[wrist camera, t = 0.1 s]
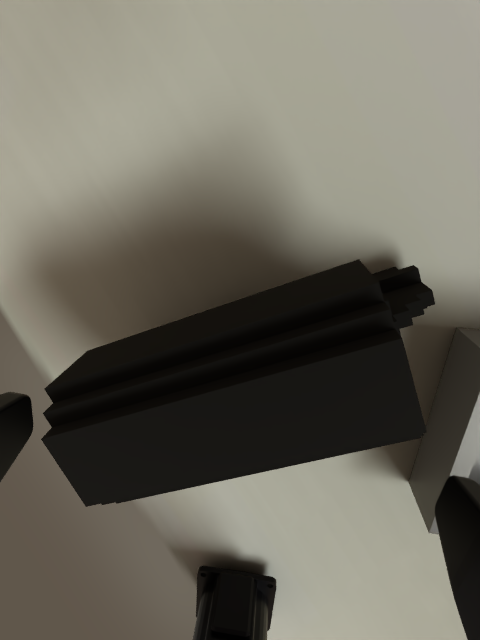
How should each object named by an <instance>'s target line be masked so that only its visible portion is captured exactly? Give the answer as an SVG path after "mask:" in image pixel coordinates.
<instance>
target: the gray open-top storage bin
mask: <svg viewBox="0 0 480 640" xmlns="http://www.w3.org/2000/svg"><path fill="white" fill-rule="evenodd" d="M453 475H455V476H460V477H465V478H470V479H472V480H474V481H476V482H477V483H478V484H479V485H480V330H476V329H466V328H456V331H455V334H454V337H453V341H452V344H451V347H450V350H449V354H448V357H447V360H446V363H445V367H444V370H443V373H442V376H441V380H440V383H439V386H438V389H437V392H436V396H435V399H434V402H433V405H432V409H431V412H430V415H429V418H428V422H427V425H426V433H424V435H423V438H422V441H421V444H420V447H419V451H418V454H417V457H416V460H415V464H414V467H413V470H412V473H411V477H410V480H409V485H410V487H411V489H412V492H413V494H414V497H415V499H416V502H417V504H418V507H419V509H420V512H421V514H422V517H423V519H424V522H425V524H426V527H427V529H428V532H429V533H432V534H439V532H438V527H437V523H436V519H435V504H436V501H437V499H438V497H439V495H440V493H441V490H442V488H443V486H444V484H445V482H446V480H447V478H448V477H449V476H453Z"/></svg>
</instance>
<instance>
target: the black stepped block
mask: <svg viewBox="0 0 480 640" xmlns="http://www.w3.org/2000/svg"><path fill="white" fill-rule="evenodd" d="M434 304H435V301H434V297H433V292H432V290H431V289H430V288H428V287H427V286H426V285H425V284H423V283H422V282H421V279H420V274H419V270H418V268H417V267H415V266H414V265H413V266H410V267H406V268H403V269H400V270H398V269H397V268H396V267H393V268H390V269H387V270H384V271H380V272H377V273H374V274H371V273H370V271H369V270H368V269H367V268H366V267H365V266H364V265H363V264H362V263H361V261H360V260H356V261H353V262H350V263H347V264H344V265H341V266H338V267H335V268H332V269H329V270H326V271H323V272H320V273H317V274H314V275H311V276H308V277H305V278H302V279H299V280H296V281H293V282H290V283H287V284H284V285H281V286H279V287H276V288H273V289H270V290H267V291H264V292H261V293H258V294H255V295H252V296H249V297H246V298H243V299H240V300H237V301H234V302H231V303H228V304H225V305H222V306H219V307H216V308H213V309H210V310H207V311H204V312H201V313H198V314H195V315H192V316H190V317H187V318H184V319H181V320H178V321H175V322H172V323H169V324H166V325H163V326H160V327H157V328H154V329H151V330H148V331H145V332H142V333H139V334H136V335H133V336H130V337H127V338H124V339H121V340H118V341H115V342H112V343H109V344H106V345H103V346H100V347H98V348H95V349H92V350H89V351H87V352H86V353H85V354H84V355H82V356H81V357H80V358H79V359H78V360H77V361H76V362H74V363H73V364H72V365H71V366H70V367H69V368H68V369H66V370H65V371H64V372H63V373H62V374H61V375H60V376H59V377H57V378H56V379H55V380H54V381H53V382H52V383H51V384H49V385H48V386H47V387H46V388H45V390H46V392H47V394H48V395H49V397H50V398H51V400H52V402H53V404H52V405H51V406H50V407H49V408H48V409H47V410H46V411H45V412H44V413H43V414H44V416H45V417H46V419H47V420H48V422H49V423H50V425H51V427H52V428H51V429H50V430H49V431H48V432H47V433H46V435H45V436H44V437H43V438H42V439H41V440H42V441H43V443H44V444H45V446H46V447H47V449H48V450H49V452H50V453H51V455H52V456H53V458H54V459H55V461H56V462H57V464H58V465H59V467H60V468H61V470H62V471H63V473H64V474H65V476H66V477H67V479H68V480H69V482H70V483H71V485H72V486H73V488H74V489H75V491H76V492H77V494H78V495H79V497H80V498H81V500H82V501H83V503H84V504H85V506H86V507H87V506H91V505H96V504H100V503H101V504H102V505H104V504H109V503H114V502H116V503H121V502H126V501H131V500H135V499H140V498H145V497H149V496H154V495H158V494H163V493H168V492H172V491H177V490H182V489H186V488H191V487H196V486H200V485H205V484H209V483H214V482H219V481H223V480H228V479H233V478H237V477H242V476H246V475H251V474H256V473H260V472H265V471H270V470H274V469H279V468H284V467H288V466H293V465H297V464H302V463H307V462H311V461H316V460H321V459H325V458H330V457H334V456H339V455H344V454H348V453H353V452H358V451H362V450H367V449H372V448H376V447H381V446H385V445H390V444H395V443H399V442H404V441H409V440H413V439H418V438H421V436H422V435H423V433H426V428H425V424H424V420H423V416H422V412H421V409H420V405H419V401H418V397H417V393H416V390H415V386H414V382H413V378H412V374H411V370H410V367H409V363H408V359H407V355H406V351H405V348H404V344H403V340H402V338H401V334H400V330H399V329H400V328H404V327H407V326H411V325H413V322H412V318H413V317H417V316H420V315H424V310H423V309H425V308H427V306H431V305H434Z"/></svg>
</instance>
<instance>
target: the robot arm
mask: <svg viewBox="0 0 480 640" xmlns="http://www.w3.org/2000/svg"><path fill="white" fill-rule="evenodd" d="M32 430H33V417H32V406H31V399H30V397H29V396H28V395H25V394H20V393H15V392H7V393H4V394H1V395H0V482H1V480H2V479H3V477H4V476H5V474H6V473H7V471H8V470H9V468H10V467H11V465H12V463H13V462H14V461H15V459H16V457H17V456H18V454H19V453H20V451H21V450H22V448H23V447H24V445H25V444H26V442H27V441H28V439H29V437H30V436H31V433H32ZM435 519H436V523H437V527H438V532H439V536H440V540H441V545H442V549H443V553H444V558H445V562H446V566H447V571H448V575H449V579H450V584H451V588H452V591H453V595H454V599H455V602H456V605H457V608H458V612H459V615H460V618H461V621H462V624H463V627H464V630H465V633H466V636H467V639H468V640H480V485H479V484H478V483H477V482H476V481H474V480H472V479H470V478H465V477H460V476H455V475H453V476H449V477H448V478H447V480H446V482H445V484H444V486H443V488H442V490H441V493H440V495H439V497H438V499H437V501H436V504H435ZM275 592H276V579H275V578H273V577H270V576H263V575H257V574H251V573H245V572H239V571H232V570H226V569H220V568H214V567H208V566H201V567H199V570H198V575H197V605H196V606H197V607H196V617H197V621H196V626H195V631H194V636H193V640H267V631H268V630H269V629H270V624H271V618H272V611H273V605H274V598H275Z"/></svg>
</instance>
